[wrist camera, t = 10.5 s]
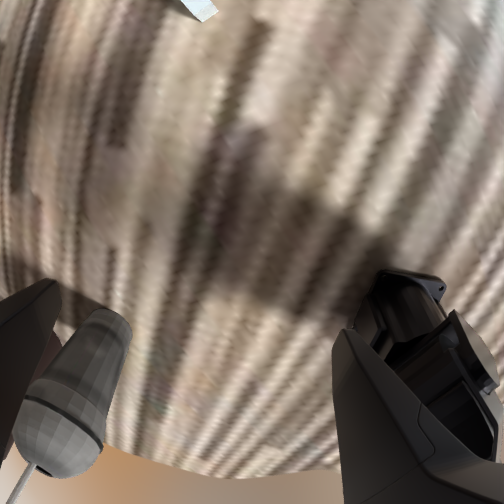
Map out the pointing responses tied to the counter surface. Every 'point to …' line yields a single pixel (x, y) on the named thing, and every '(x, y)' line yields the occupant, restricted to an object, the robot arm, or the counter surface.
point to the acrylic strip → (201, 8)
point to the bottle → (41, 370)
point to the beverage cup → (72, 401)
